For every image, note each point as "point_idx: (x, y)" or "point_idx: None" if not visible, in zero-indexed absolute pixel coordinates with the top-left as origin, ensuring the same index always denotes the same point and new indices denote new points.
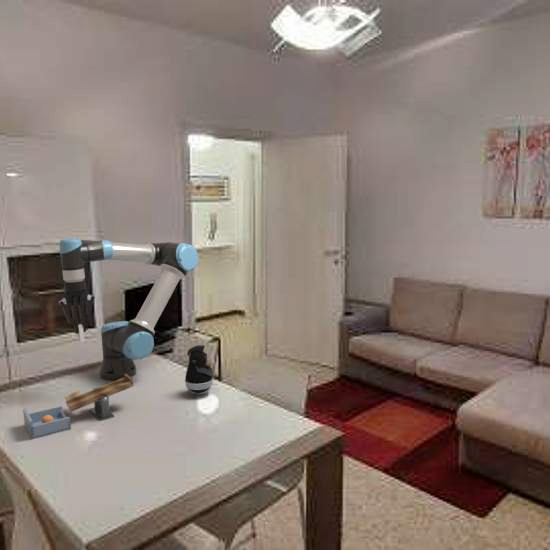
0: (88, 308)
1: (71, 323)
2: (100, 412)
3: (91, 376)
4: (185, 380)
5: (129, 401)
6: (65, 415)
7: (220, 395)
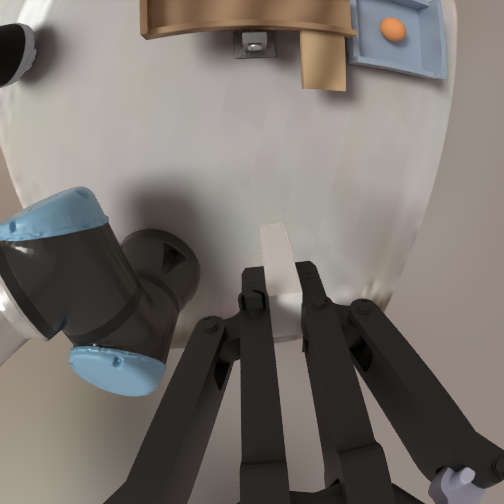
0: (185, 430)
1: (367, 306)
2: None
3: (218, 287)
4: (24, 50)
5: (165, 61)
6: (352, 22)
7: None
